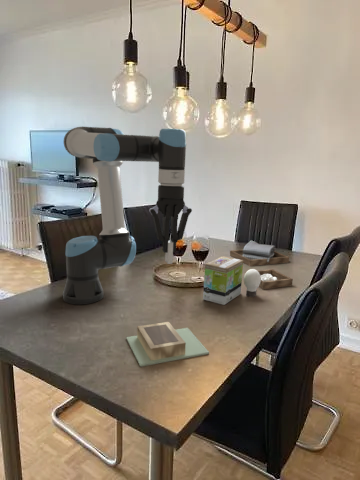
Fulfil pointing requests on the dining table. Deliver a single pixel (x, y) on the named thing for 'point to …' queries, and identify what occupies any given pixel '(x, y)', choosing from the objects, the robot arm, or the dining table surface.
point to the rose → (267, 277)
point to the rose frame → (280, 282)
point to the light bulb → (252, 282)
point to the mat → (191, 350)
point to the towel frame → (278, 259)
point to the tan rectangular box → (160, 340)
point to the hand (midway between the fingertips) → (168, 262)
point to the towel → (258, 251)
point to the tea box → (222, 279)
